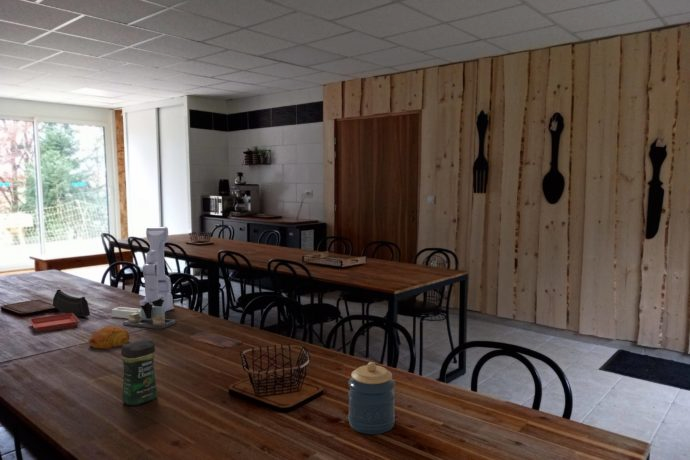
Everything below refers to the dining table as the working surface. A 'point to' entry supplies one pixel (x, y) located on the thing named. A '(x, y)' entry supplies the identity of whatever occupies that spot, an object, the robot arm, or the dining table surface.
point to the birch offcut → (158, 319)
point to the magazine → (71, 304)
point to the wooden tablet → (216, 340)
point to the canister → (371, 399)
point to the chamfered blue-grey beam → (154, 312)
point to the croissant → (109, 337)
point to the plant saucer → (54, 322)
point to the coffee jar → (138, 372)
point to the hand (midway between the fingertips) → (152, 316)
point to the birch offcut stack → (134, 317)
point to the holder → (124, 312)
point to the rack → (149, 323)
